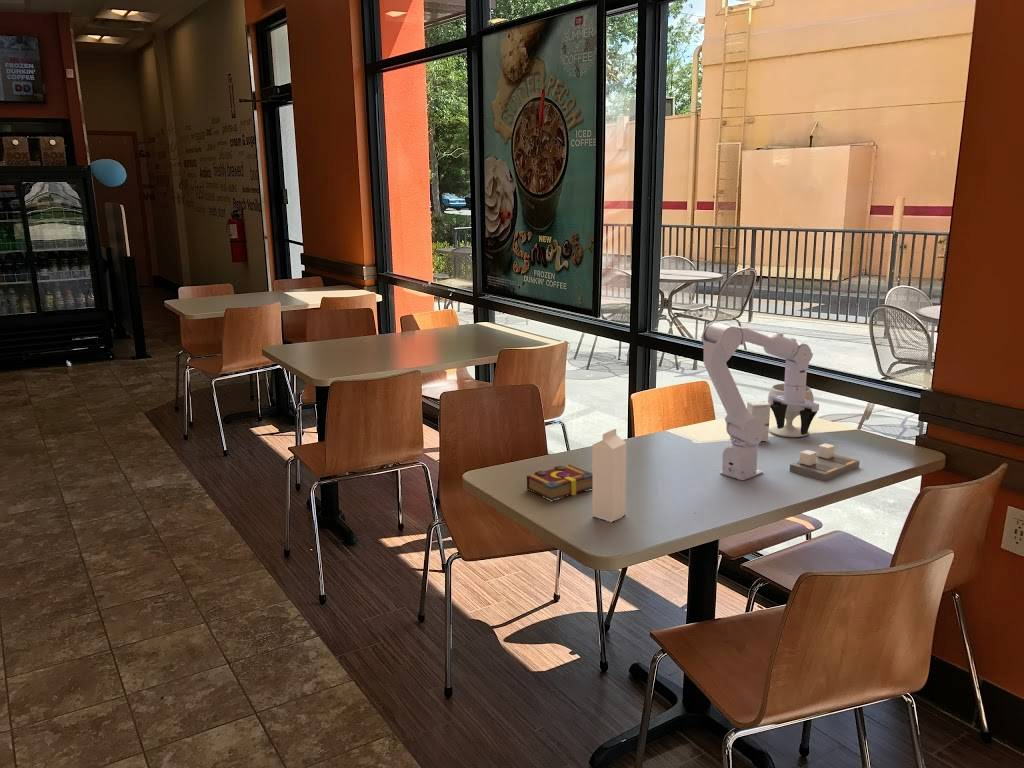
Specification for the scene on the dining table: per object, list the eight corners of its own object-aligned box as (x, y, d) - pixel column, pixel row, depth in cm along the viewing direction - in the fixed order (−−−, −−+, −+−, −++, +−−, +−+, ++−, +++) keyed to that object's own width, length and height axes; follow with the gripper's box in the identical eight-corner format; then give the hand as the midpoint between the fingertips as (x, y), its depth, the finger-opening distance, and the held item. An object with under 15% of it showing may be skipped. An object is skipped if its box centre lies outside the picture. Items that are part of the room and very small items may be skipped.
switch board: (824, 481, 224) (825, 473, 224) (789, 471, 233) (789, 463, 233) (858, 467, 235) (859, 460, 234) (823, 458, 243) (824, 451, 243)
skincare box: (750, 442, 259) (752, 405, 256) (744, 438, 263) (746, 401, 260) (769, 441, 259) (771, 404, 257) (763, 437, 264) (764, 400, 261)
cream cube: (827, 458, 236) (828, 448, 235) (818, 456, 238) (818, 445, 237) (833, 456, 238) (834, 445, 237) (824, 453, 240) (825, 443, 239)
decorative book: (525, 490, 224) (525, 473, 222) (572, 477, 233) (572, 461, 231) (551, 503, 215) (551, 485, 213) (598, 489, 223) (598, 471, 222)
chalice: (757, 432, 269) (759, 387, 265) (780, 424, 277) (783, 380, 274) (797, 442, 258) (799, 395, 255) (819, 432, 267) (823, 387, 264)
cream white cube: (809, 465, 230) (809, 454, 230) (799, 463, 233) (800, 452, 232) (815, 463, 232) (816, 452, 232) (806, 460, 235) (807, 449, 234)
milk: (625, 515, 205) (627, 430, 200) (612, 523, 200) (613, 436, 195) (605, 510, 209) (606, 426, 203) (591, 517, 204) (592, 431, 199)
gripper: (826, 386, 228) (823, 433, 232) (781, 377, 240) (778, 422, 243) (811, 390, 224) (808, 438, 227) (766, 381, 235) (764, 427, 239)
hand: (792, 430), depth 235 cm, fingers open, 7 cm apart
